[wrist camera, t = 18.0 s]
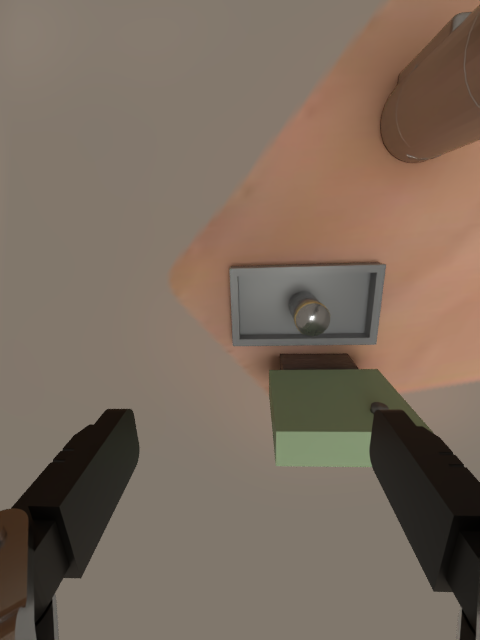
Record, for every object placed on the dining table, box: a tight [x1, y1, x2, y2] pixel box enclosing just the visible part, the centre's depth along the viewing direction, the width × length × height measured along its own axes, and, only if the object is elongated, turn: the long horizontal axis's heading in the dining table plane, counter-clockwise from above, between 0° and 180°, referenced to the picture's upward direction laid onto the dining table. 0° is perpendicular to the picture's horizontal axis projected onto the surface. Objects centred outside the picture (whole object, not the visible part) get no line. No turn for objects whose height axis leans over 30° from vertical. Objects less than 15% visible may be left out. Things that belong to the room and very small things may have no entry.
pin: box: [289, 291, 330, 336], centre depth 37 cm, size 4×4×7 cm
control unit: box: [269, 354, 433, 467], centre depth 35 cm, size 5×14×18 cm, turn 92°
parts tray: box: [230, 262, 386, 346], centre depth 40 cm, size 11×20×2 cm, turn 92°
